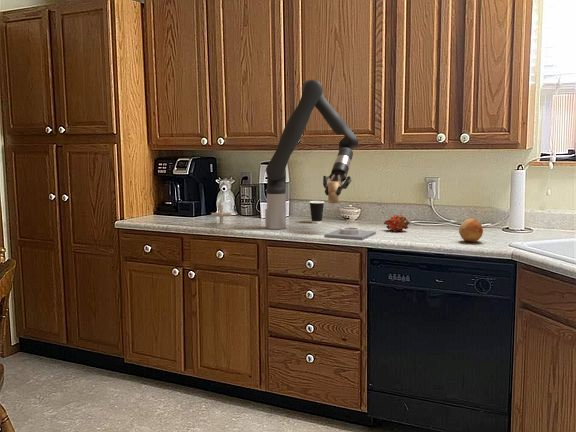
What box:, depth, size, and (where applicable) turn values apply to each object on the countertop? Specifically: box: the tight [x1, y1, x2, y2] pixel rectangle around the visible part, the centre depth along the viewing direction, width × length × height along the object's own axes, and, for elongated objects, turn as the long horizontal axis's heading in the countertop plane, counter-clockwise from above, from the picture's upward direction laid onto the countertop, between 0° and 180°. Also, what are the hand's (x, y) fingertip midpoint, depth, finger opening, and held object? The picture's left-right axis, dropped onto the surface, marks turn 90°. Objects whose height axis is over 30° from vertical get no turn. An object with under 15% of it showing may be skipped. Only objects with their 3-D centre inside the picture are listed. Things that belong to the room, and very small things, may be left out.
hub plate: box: [324, 226, 377, 241], centre depth 273 cm, size 18×18×3 cm
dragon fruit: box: [383, 214, 410, 232], centre depth 285 cm, size 8×8×12 cm
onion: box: [458, 217, 484, 243], centre depth 254 cm, size 10×10×10 cm
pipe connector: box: [211, 204, 232, 225], centre depth 312 cm, size 10×10×10 cm
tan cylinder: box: [327, 180, 340, 204], centre depth 278 cm, size 5×5×10 cm
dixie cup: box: [309, 200, 325, 224], centre depth 314 cm, size 8×8×11 cm
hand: (332, 194), depth 277 cm, fingers closed on tan cylinder, 4 cm apart
